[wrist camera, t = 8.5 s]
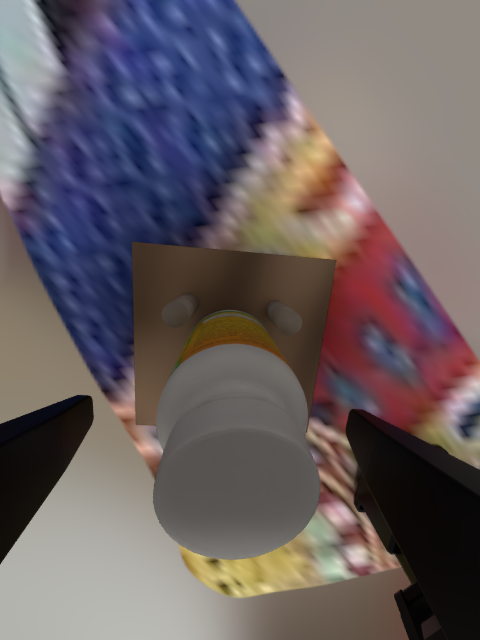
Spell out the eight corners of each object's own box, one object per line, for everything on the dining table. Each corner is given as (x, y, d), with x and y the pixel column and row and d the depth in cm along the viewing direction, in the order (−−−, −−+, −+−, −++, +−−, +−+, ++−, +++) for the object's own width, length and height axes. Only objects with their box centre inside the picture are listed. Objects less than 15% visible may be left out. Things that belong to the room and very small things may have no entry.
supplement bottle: (183, 309, 14) (98, 405, 5) (271, 306, 14) (361, 389, 5) (190, 389, 15) (134, 593, 6) (270, 385, 16) (341, 571, 6)
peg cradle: (326, 260, 15) (370, 258, 10) (300, 419, 18) (326, 475, 13) (141, 244, 15) (97, 233, 10) (143, 411, 17) (109, 468, 12)
